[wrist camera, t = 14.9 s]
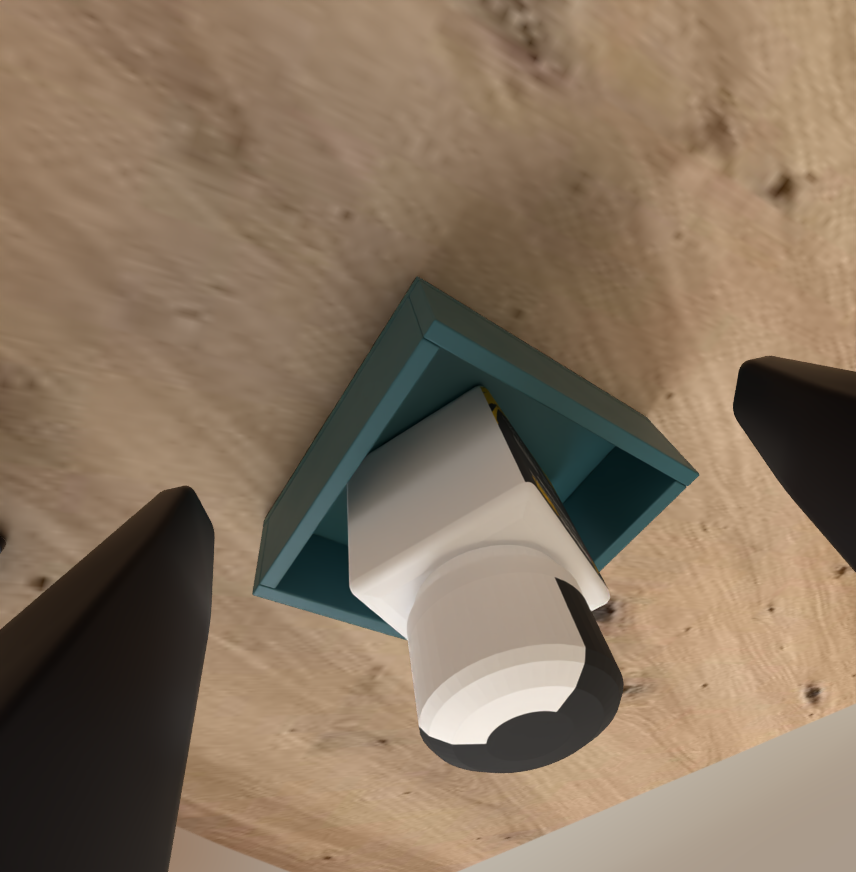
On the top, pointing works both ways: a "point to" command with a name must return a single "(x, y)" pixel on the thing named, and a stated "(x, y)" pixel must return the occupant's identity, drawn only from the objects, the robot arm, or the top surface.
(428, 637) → the medicine bottle
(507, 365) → the desk bin
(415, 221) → the top surface
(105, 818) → the robot arm
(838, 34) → the top surface
